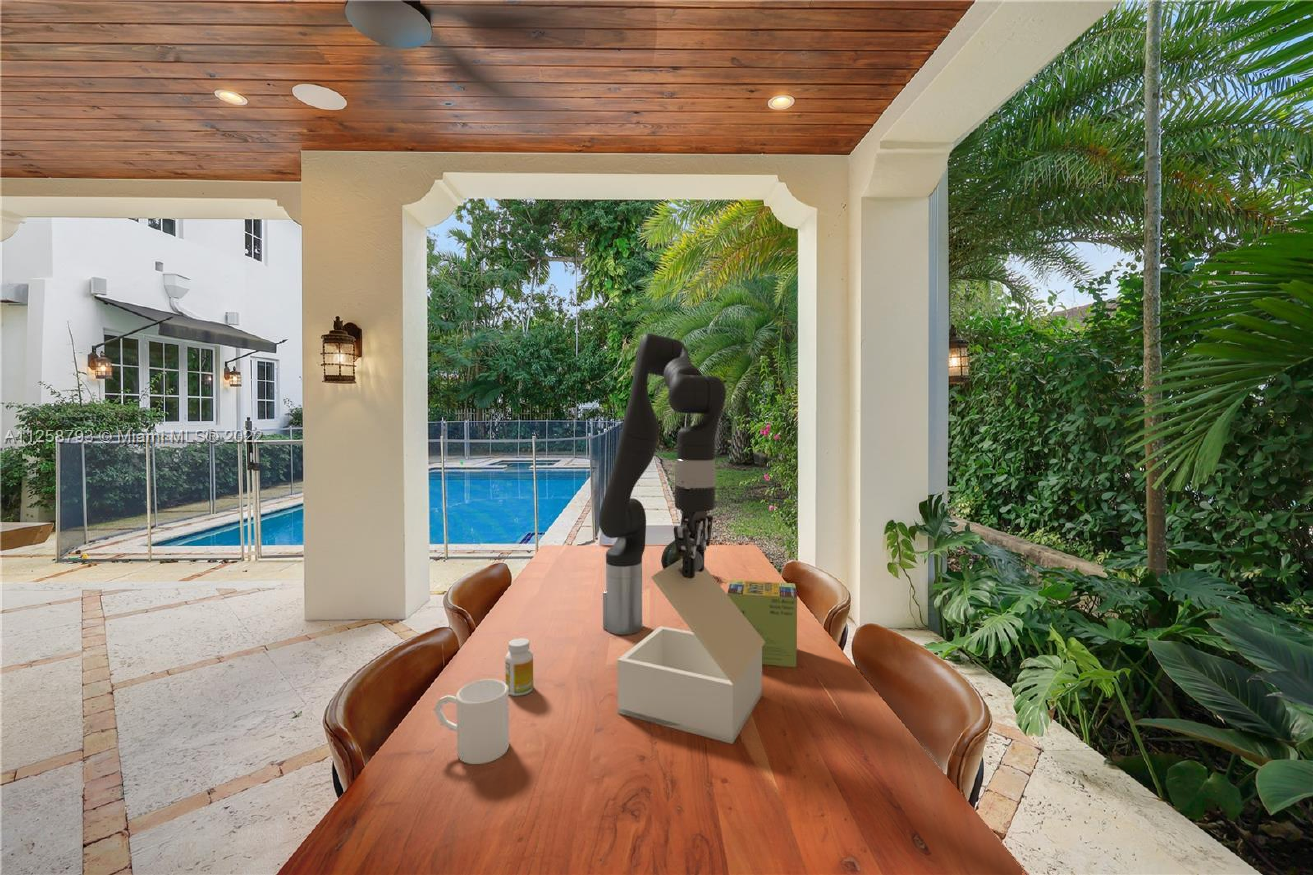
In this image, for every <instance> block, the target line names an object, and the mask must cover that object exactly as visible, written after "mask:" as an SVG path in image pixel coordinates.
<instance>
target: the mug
mask: <svg viewBox="0 0 1313 875" xmlns="http://www.w3.org/2000/svg"><path fill="white" fill-rule="evenodd" d="M509 696H510V695H509V691H508V685H507V684H506V682H505V681H502V680H499V679H495V678H494V679H492V678H489V679H488V678H487V679H479V680H475V681H472V682H469V683H467V684H465V685H464V686H462V687H461V688H460V689H459V690H458V691H457V692H456V696H455V695H454V696H453V695H451V694H447V695H445V696H442V697H439V700H438V701H437V703H436V705H435V707H434V709H433V711H434V713H435V715H436V718H437V719H438V721H439V724H440V725H441V726H442V727H445V728H447V729H448V730H450V731H454V732H456V738H457V739H456V746H457V748H456V750H457V752H456V753H457V754H456V755H457V757H458V758H459V760H460V761H461V762H462V763H466V764H469V765H483V764H487V763H488V764H489V763H491V762H493V761H496V760H497V759H499V758H501V757H502V756H504V755H505V754H506V753H507V752H508V749H509V747H510V708H509V706H510V704H509V703H510V702H509V699H510V698H509ZM449 703H453V704H456V723H454V722H452V721H450V720H448V719H447V718H446V714H445V713H444V712H443V709H442V708H443V707H444V705H445V704H449Z"/></svg>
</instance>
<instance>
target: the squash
mask: <svg viewBox="0 0 1313 875" xmlns="http://www.w3.org/2000/svg"><path fill="white" fill-rule="evenodd" d="M690 541H691V540H690ZM681 547H682V546H681ZM691 547H692V546H691ZM682 558H683V557H681V556H677V552H676V545H675V539H674V540H673V541H672V542H669V543H668V544H667V545H666V546H665V548H664V550H663V552H662V555H661V560H660V561H661V566H662V570H663V569H665V568H667V567H668V566H670V565H672V564H674V563H675V562H677V561H679V560H680V559H682Z"/></svg>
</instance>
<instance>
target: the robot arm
mask: <svg viewBox="0 0 1313 875" xmlns="http://www.w3.org/2000/svg"><path fill="white" fill-rule="evenodd" d="M649 375H654V376H661V377H663V380H664V383H665V386H666V387H667V389H668V395H667V396H668V404H669V406H670V408H671V409H672V410H673V411H674V412H677V413H679V414H696V415H697V414H698V415H699V414H700V415H701V414H702V415H703V416H702V418H701V420H700V421H698V423H697V424H693V425H690V426H688V425H687V426H684V427H681V428H680V429H679V430H678V431H677V436H676V461H675V462H676V464H675V469H674V470H675V471H674V474H675V475H674V507H675V508H676V509H677V510H679V511H681V512H682V513H681V519H680V525H679V526H678V525H674V527H673V538H674V540H675V545H676V552H677V556H681V557H683V570H682V575H683V577H685V578H691V579H692V578H694V577H695V554H696V551H697V552H699V553H700V554H701V555H702V557H703V566H702V568H701V569H700V570H699V571H697V572H702V571H703V570H704V566H705V552H707V547H709V546H710V545H711V535H712V530H713V529H712V528H713V521H714V515H709V514H708V513H707V512H710V511H713V510H714V509H715V508H716V476H717V475H716V474H717V472H716V471H717V470H716V462H715V461H716V460H715V455H716V454H715V453H716V451H715V450H716V449H715V448H716V445H715V444H716V436H717V431H718V426H719V422H720V418H721V415H722V412H723V409H724V405H725V403H726V397H727V389H726V385H725V383H724V382H723V380H722V379H721V378H720V377H718V376H715V375H704V374H702V371H700V369H699V368H697V367H696V366H695V365H694V364H693V362H692V361H691V357H690V354H689V352H688V350H687V348H686V346H685V344H684V343H683V342H682V341H680V340H679V339H676V338H672V337H668V336H664V335H663V336H662V335H658V334H655V333H648V332H647V333H645V334H644V335H642V337H641V338H640V340H639V343H638V347H637V352H636V358H635V362H634V369H633V376H632V381H631V387H630V393H629V399H628V403H627V407H626V411H625V416H624V418H623V423H622V427H621V430H620V435H619V439H618V440H619V441H618V446H617V451H616V455H615V459H614V462H613V467H612V471H611V474H610V475H611V476H610V478H609V482H608V485H607V489H606V491H605V494H604V497H603V500H602V503H601V506H600V509H599V516H598V523H599V529H600V531H601V532H602V534H603V535H604V536H605V537H607V538H610V539H616V538H617V539H616V541H615V542H614V544H613V545H612V546H611V547H610V548H608V549H607V551H606V553H605V590H604V591H602V592H603V593H602V629H603V630H606V631H607V632H609V633H611V634H615V635H621V636H622V635H631V634H636V633H639V632H641V631H642V629H643V555H644V553H645V550H646V532H647V517H646V516H647V514H646V510H645V507H644V505H643V504H642V503H641V501H639V500H638V499H636V498H633V497H631V496H632V494H633V490H634V488H635V487H636V484H637V483H638V481H639V479H640V478H641V477H642V476H643V475H644V472H646V470H647V468H648V467H649V465H650V464H651V463H652V461H653V459H654V456H655V453H656V450H657V445H658V442H659V437H660V426H659V422H658V418H657V416H656V412H655V410H654V408H653V406H652V403H651V399H650V396H649V391H648V378H649ZM690 540H691V541H690ZM681 546H682V547H681ZM691 546H692V547H691Z"/></svg>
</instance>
